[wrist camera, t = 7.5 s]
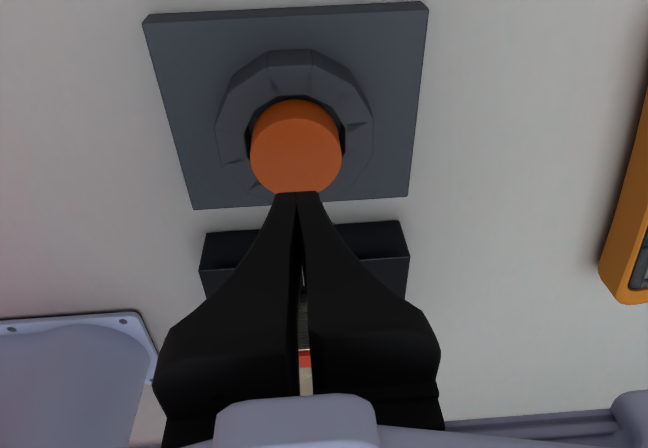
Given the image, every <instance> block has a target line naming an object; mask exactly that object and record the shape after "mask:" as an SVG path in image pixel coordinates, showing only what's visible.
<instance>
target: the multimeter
mask: <svg viewBox="0 0 648 448" xmlns="http://www.w3.org/2000/svg"><path fill="white" fill-rule="evenodd" d="M598 273H599V276H600V278H601V280H602V281H603V283H604V284H605V285H606V287H607V288H608V289H609V291H610V292H611V293H612V295H613V296H614V297H615V299H616V300H617V301H618V302H619V303H621V304H625V305H635V304H641V303H647V302H648V87H647V92H646V96H645V100H644V105H643V109H642V113H641V118H640V122H639V126H638V131H637V135H636V139H635V143H634V147H633V151H632V154H631V158H630V161H629V165H628V169H627V172H626V176H625V180H624V183H623V187H622V190H621V194H620V198H619V201H618V205H617V209H616V212H615V216H614V219H613V222H612V225H611V228H610V231H609V234H608V237H607V240H606V243H605V246H604V249H603V252H602V255H601V258H600V261H599V266H598Z"/></svg>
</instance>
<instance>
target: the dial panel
mask: <svg viewBox="0 0 648 448" xmlns="http://www.w3.org/2000/svg"><path fill="white" fill-rule="evenodd" d="M334 227H335V228H336V230H337V232H338V233H339V235H340V236H341V238H342V239H343V240H344V242H345V243H346V244H347V246H348V247H349V248H350V250H351V251H352V252H353V253H354V255H355V256H356V257H357V258H358V259H359V260H360V261H361V262H362V264H363V265H364V266H365V267H366V268H367V269H368V270H369V271H370V272H371V273H372V274H373V275H375V276H376V277H377V278H378V279H379V280H380V281H381V282H382V283H384V284H385V285H386V286H387V287H388V288H389V289H391V290H392V291H393V292H394V293H396V294H397V295H398V296H400V297H401V298H403V299H404V300H405V293H406V285H407V278H408V270H409V263H410V254H409V251H408V247H407V244H406V241H405V238H404V235H403V231H402V228H401V225H400V222H399V221H386V222H370V223H355V224H339V225H334ZM259 232H260V230H247V231H231V232H216V233H206V237H205V241H204V246H203V251H202V256H201V260H200V265H199V270H198V271H199V275H200V278H201V281H202V285H203V288H204V291H205V295H206V298H208V297H209V296H211V295H212V294H213V293H214V292H215V291H216V290H217V289H218V288H219V287H220V286H221V284H222V283H223V282H224V281H225V280H226V279H227V278H228V276H229V275H230V274H231V273H232V272H233V271H234V269H235V268H236V267H237V265H238V264H239V263H240V261H241V260H242V259H243V257H244V256H245V254H246V253H247V251H248V250H249V248H250V247H251V245H252V243H253V242H254V240H255V239H256V237H257V235H258V233H259ZM304 293H306V289H305V283H304V276H303V270H302V269H301V285H300V294H304Z"/></svg>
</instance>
